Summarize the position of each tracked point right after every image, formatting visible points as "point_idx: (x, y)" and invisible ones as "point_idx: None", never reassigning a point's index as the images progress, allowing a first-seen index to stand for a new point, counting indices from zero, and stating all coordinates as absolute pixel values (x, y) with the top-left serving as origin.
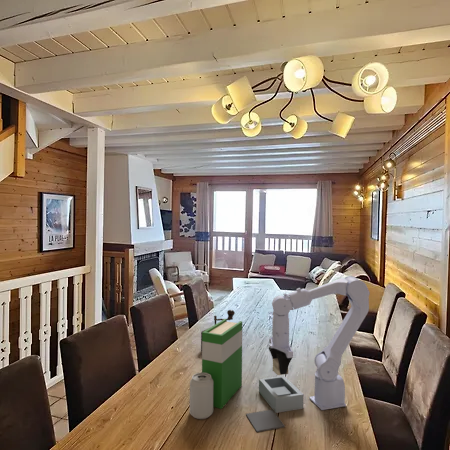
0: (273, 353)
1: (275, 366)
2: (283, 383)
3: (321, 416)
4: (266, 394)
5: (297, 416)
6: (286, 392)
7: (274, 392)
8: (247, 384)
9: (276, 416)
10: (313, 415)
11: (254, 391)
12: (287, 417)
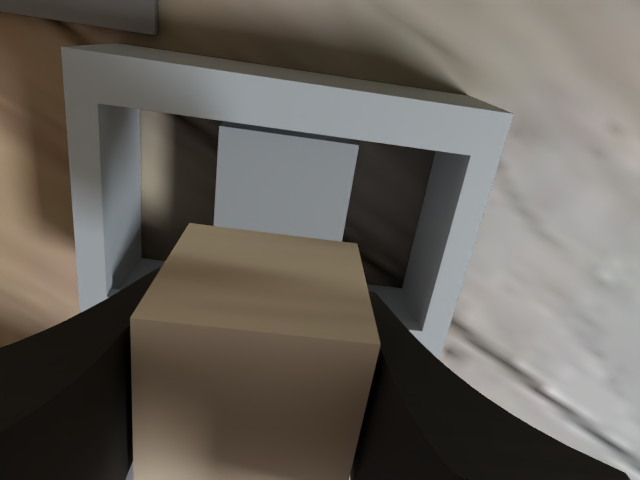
0: (404, 449)
1: (252, 277)
2: (404, 313)
3: (9, 315)
4: (304, 76)
5: (37, 176)
6: None
7: (184, 108)
8: (631, 64)
9: (43, 7)
10: (29, 279)
11: (493, 59)
12: (39, 99)
